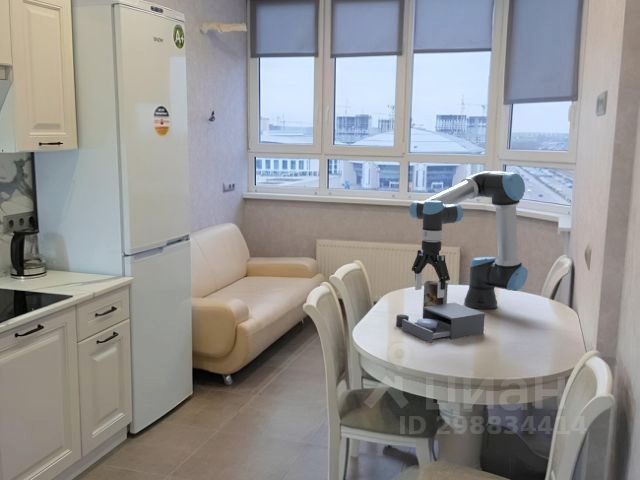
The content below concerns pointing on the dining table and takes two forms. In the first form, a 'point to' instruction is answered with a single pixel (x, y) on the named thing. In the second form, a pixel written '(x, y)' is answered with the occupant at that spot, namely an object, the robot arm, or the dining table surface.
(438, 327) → the tray
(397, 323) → the short dark gray cylinder
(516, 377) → the dining table surface
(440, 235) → the robot arm
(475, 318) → the gray drawer box
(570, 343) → the dining table surface
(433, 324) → the light blue dome
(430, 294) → the coffee box
